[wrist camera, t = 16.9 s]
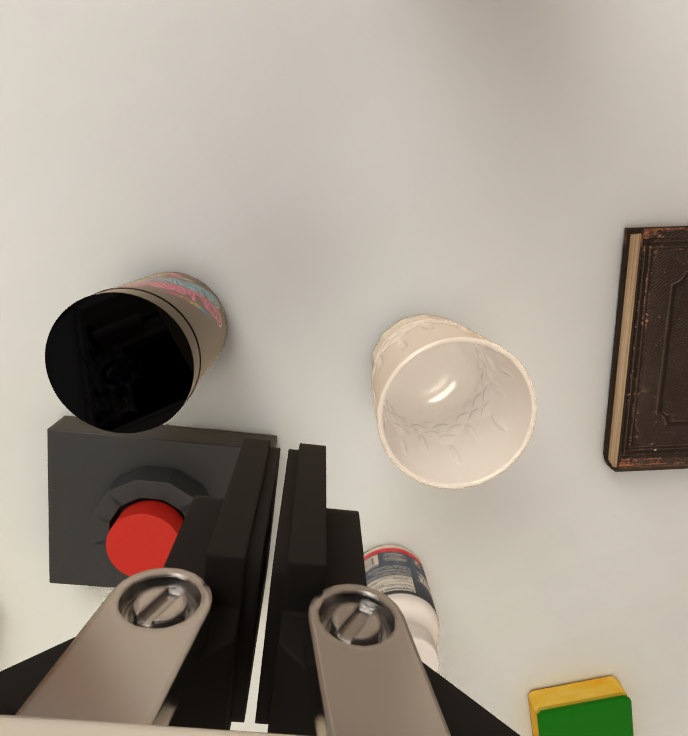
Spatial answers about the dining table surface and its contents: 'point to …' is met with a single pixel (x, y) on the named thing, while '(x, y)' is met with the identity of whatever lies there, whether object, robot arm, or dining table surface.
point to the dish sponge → (582, 709)
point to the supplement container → (135, 351)
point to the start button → (143, 536)
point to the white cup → (449, 402)
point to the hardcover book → (650, 354)
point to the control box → (124, 486)
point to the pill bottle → (406, 595)
